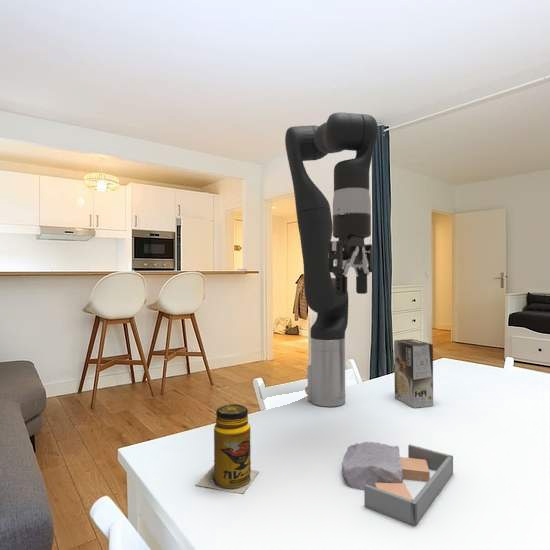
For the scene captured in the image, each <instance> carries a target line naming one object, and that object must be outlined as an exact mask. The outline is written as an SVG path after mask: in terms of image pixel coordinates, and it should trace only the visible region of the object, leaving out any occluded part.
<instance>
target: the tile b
mask: <svg viewBox="0 0 550 550" xmlns="http://www.w3.org/2000/svg"><path fill="white" fill-rule="evenodd" d="M400 459H401V463H402V470H403V471H402V472H403V480H412V481H417V482H426V483H427V482H428V481H429V479H430V478H431V477H430V468H428V465H427V462H426V460H423V459H414V458H408V457H405V456H404V457H403V456H400Z"/></svg>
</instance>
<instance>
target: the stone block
mask: <svg viewBox="0 0 550 550" xmlns="http://www.w3.org/2000/svg"><path fill="white" fill-rule="evenodd" d="M400 457H401V456H400V447H399V446H398V445H390V444H389V445H388V444H387V443H386V444H385V443H381V442H374V441H365V442H364V441H363V442H359V443H357V442H356V443H354V444H351V445H348V446H347V449H346V451H345V453H344V455H343V458H342V462H341V467H342V475H343V477H344V479H345V482H346V483H347V485H348V486H349V488H352V489H355V490H360V491H364V486H365V485H366V484H367V485H370V486H373V487H375V483H404V482H403V481H404V479H403V472H402V471H403V470H402V463H401V459H400Z"/></svg>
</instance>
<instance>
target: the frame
mask: <svg viewBox="0 0 550 550" xmlns="http://www.w3.org/2000/svg"><path fill="white" fill-rule="evenodd" d="M407 449H408V450H407V451H408V453H407V454H408V457H407V458H414V459H423V460H426V462H427V465H428V468H429V470H435V472H434V473H433V474H432V476H431V477H430V479H429V481H428V482H427V481H426V483H425V484H424V486H423V487H422V488H421V489H420V491H419V492H418V494H416V496H414V498H412V499H413V500H410V499H407V498H404V497H401V496H398V495H395V494H393V493H390V492H387V491H384V490H381V489H379V488H376V487H373V486H370V485H367V484H366V485H365V486H364V490H363V491H364V495H363V496H364V498H363V499H364V501H363V502H364V507H365V508H369V509H371V510H373V511H376V512H378V513H381V514H382V515H385V516H389V517H390V518H391V517H392V518H394V519H396V520H399V521H402V522H404V523H406V524H408V525H411V526H413V527H416V526H417V524H419V522H420V521H421V519H422V518H423V516H424V515H425V514H426V512H427V511H428V509H429V508H430V507H431V506H432V503H433V502H434V501H435V499H436V498H437V496H438V495H439V494H440V493H441V491H442V490H443V488H444V487H445V485H446V484H447V483H448V482H449V480H450V478H451V477H452V476H453V475H454V456H453V455H451V454H447V453H443V452H439V451H435V450H432V449H428V448H425V447H421V446H418V445H417V446H416V445H413V444H408V448H407Z"/></svg>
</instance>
